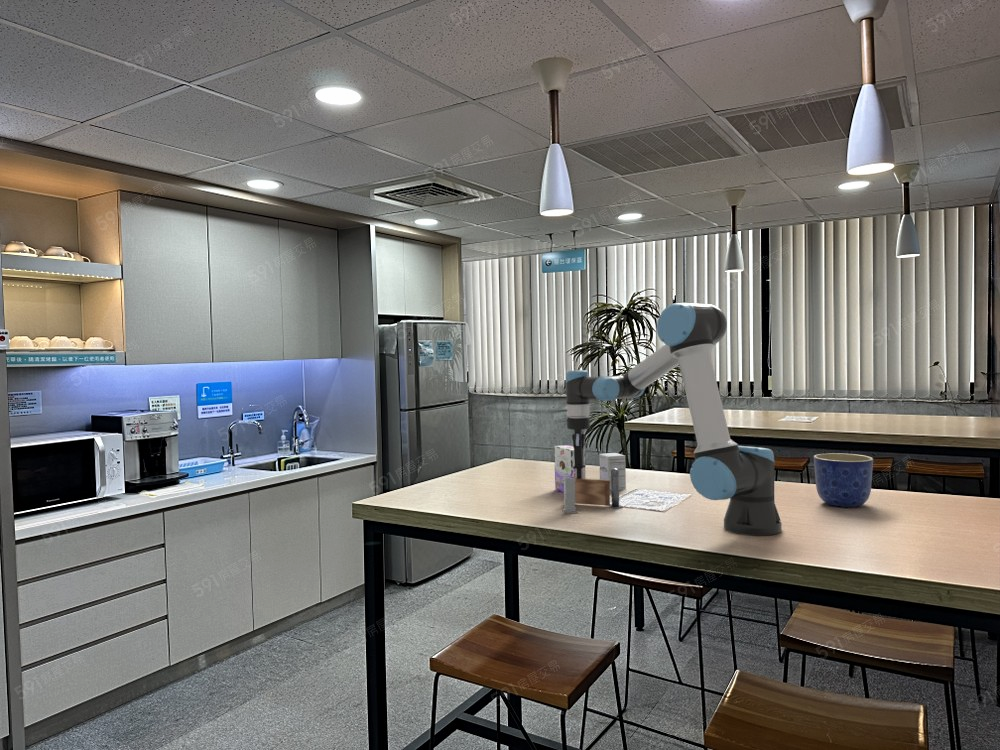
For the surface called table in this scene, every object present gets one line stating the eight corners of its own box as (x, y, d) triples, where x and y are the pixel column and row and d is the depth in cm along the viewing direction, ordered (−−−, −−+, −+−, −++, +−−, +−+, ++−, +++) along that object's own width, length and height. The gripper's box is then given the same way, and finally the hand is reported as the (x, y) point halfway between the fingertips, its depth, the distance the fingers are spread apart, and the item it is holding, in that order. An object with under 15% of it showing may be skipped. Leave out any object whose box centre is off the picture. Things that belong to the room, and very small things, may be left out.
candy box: (586, 495, 239) (585, 448, 239) (571, 496, 237) (571, 449, 237) (568, 488, 252) (567, 444, 252) (554, 489, 250) (553, 445, 250)
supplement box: (599, 487, 253) (598, 453, 252) (617, 485, 255) (616, 452, 255) (608, 490, 246) (607, 456, 245) (626, 489, 248) (626, 455, 248)
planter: (859, 513, 204) (859, 463, 204) (804, 504, 218) (803, 457, 217) (882, 504, 215) (882, 456, 215) (828, 496, 228) (828, 451, 228)
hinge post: (622, 508, 218) (622, 469, 217) (611, 508, 217) (611, 469, 217) (619, 505, 221) (618, 467, 221) (608, 506, 221) (607, 467, 220)
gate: (610, 504, 221) (610, 479, 220) (609, 505, 219) (609, 480, 219) (564, 501, 226) (564, 477, 226) (563, 502, 225) (563, 478, 225)
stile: (578, 513, 212) (577, 478, 212) (564, 513, 212) (564, 479, 211) (575, 510, 216) (574, 476, 215) (561, 511, 215) (561, 477, 215)
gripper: (568, 415, 232) (570, 483, 232) (564, 418, 219) (566, 491, 220) (590, 414, 230) (592, 483, 231) (588, 418, 217) (590, 491, 218)
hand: (579, 487), depth 225 cm, fingers closed
